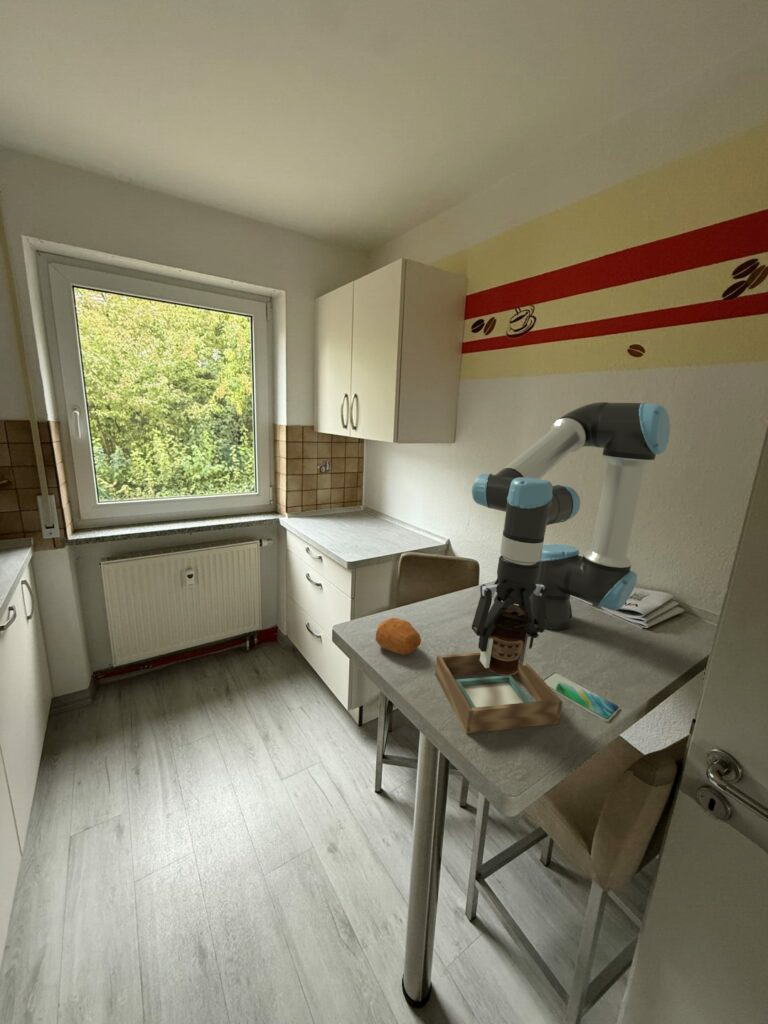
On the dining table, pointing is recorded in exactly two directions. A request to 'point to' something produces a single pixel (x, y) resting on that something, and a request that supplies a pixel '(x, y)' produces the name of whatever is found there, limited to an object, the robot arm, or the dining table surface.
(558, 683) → the smartphone
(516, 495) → the robot arm
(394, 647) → the potato
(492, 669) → the coffee cup
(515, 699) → the crate
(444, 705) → the dining table surface
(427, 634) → the dining table surface
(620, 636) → the dining table surface
